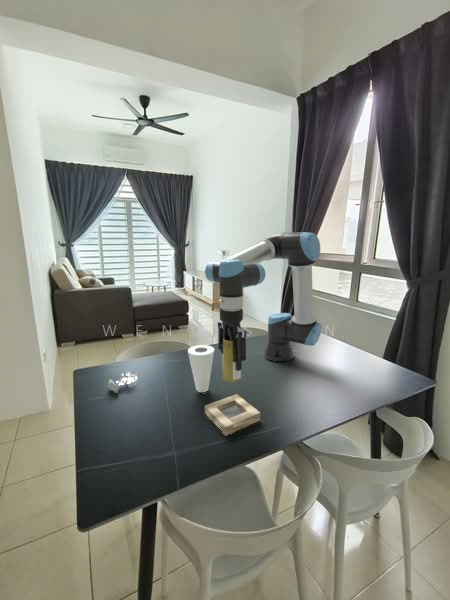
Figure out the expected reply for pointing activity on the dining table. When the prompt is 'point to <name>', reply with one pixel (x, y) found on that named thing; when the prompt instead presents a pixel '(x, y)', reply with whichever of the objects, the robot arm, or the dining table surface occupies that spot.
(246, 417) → the square wooden frame
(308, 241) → the robot arm
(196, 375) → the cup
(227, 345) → the vase
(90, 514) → the dining table surface
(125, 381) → the figurine
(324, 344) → the dining table surface
